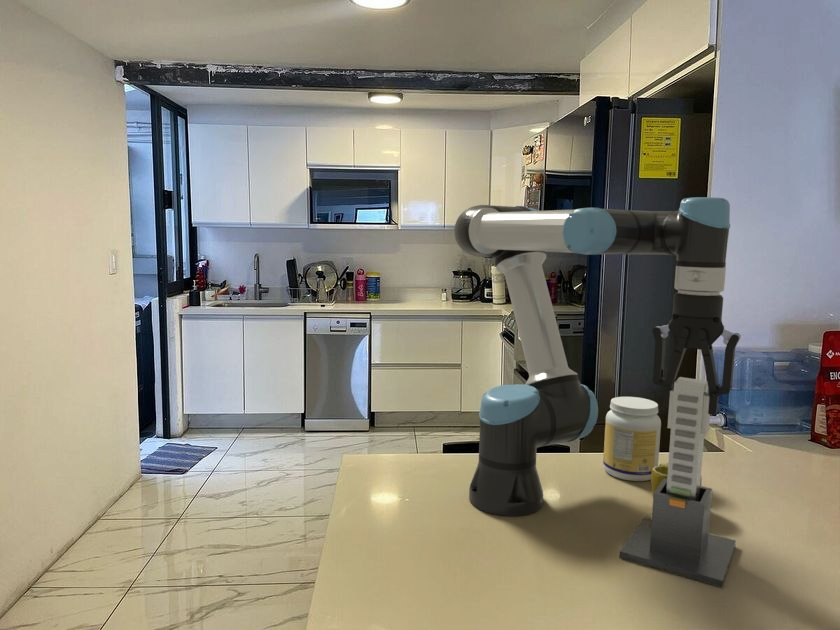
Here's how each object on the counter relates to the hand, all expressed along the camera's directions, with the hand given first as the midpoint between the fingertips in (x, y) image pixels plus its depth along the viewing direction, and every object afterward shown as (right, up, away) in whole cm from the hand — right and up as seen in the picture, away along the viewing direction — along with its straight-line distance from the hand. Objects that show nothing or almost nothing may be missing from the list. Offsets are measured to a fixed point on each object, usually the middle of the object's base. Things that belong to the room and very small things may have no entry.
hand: (687, 429), depth 106 cm
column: (0, -14, +1) cm, 14 cm away
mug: (+6, -20, +22) cm, 31 cm away
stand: (0, -22, +3) cm, 22 cm away
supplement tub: (+3, -18, +40) cm, 43 cm away
